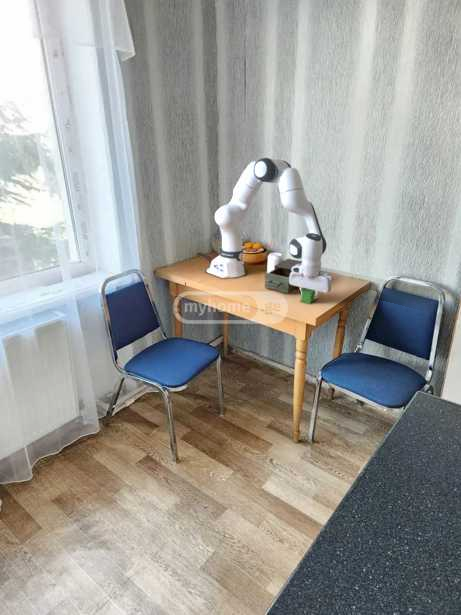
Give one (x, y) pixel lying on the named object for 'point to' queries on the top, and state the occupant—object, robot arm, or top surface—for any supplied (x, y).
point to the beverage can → (274, 261)
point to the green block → (308, 295)
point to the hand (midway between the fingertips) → (308, 297)
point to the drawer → (278, 280)
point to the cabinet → (288, 265)
